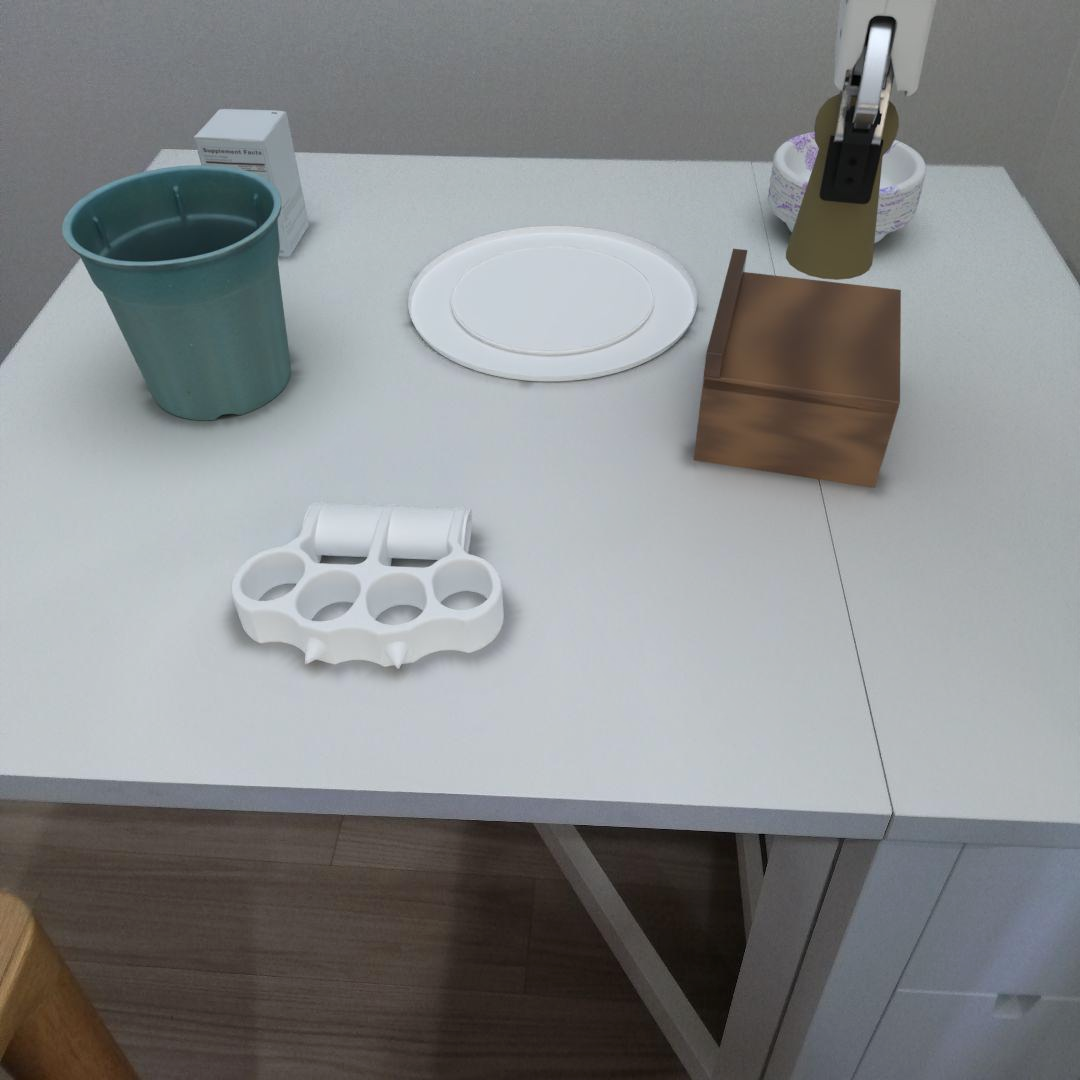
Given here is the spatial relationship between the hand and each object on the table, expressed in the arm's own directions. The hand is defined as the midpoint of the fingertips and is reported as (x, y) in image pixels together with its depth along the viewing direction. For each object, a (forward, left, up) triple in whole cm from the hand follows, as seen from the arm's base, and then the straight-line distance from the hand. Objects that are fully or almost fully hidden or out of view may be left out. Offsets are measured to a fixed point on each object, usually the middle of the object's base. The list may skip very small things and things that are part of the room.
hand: (846, 178), depth 65 cm
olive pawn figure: (0, 0, -6) cm, 6 cm away
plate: (+24, -15, -21) cm, 36 cm away
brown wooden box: (0, -2, -21) cm, 22 cm away
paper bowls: (-2, -36, -22) cm, 42 cm away
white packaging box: (+57, -20, -22) cm, 65 cm away
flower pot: (+49, +5, -22) cm, 54 cm away
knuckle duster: (+26, +26, -22) cm, 43 cm away
